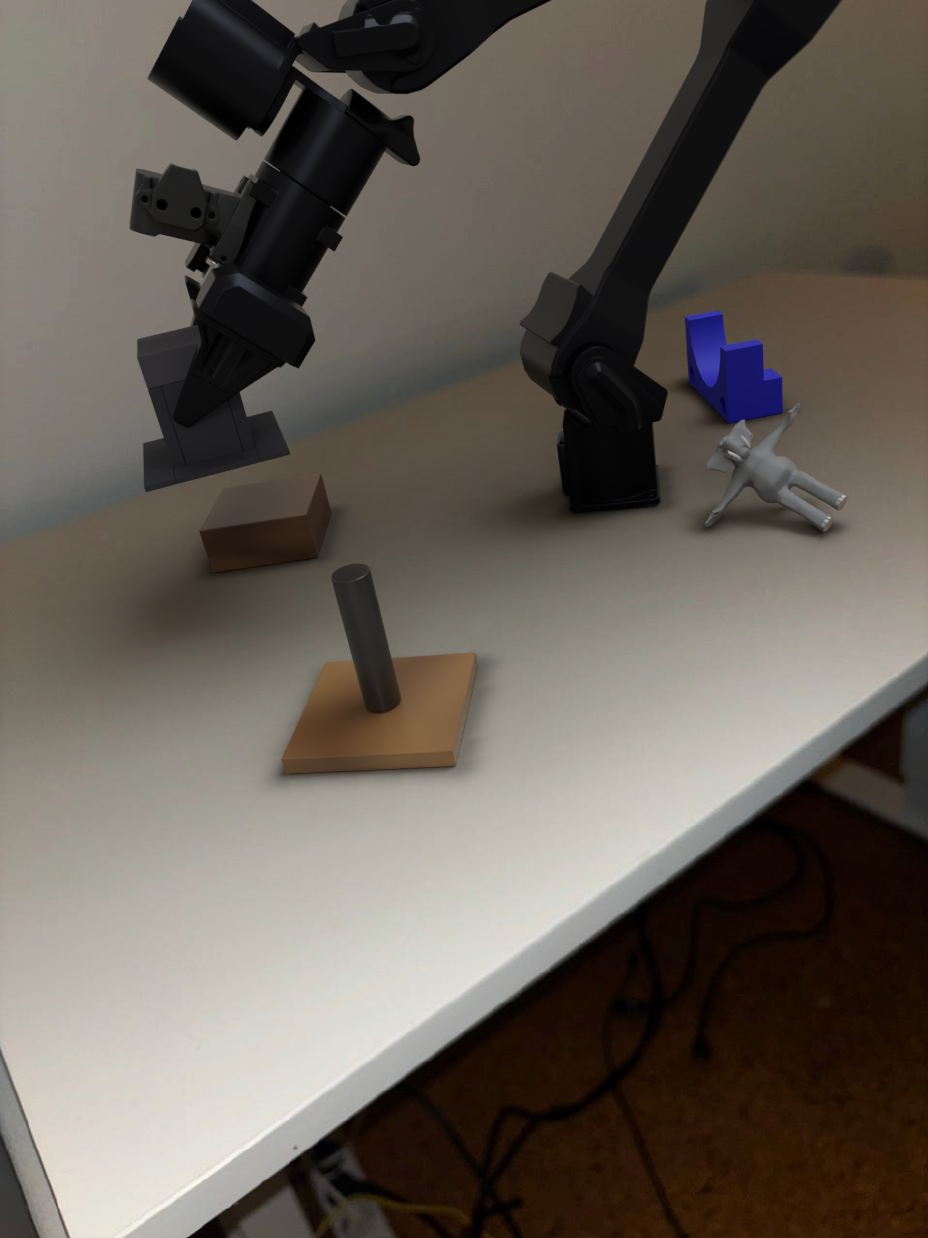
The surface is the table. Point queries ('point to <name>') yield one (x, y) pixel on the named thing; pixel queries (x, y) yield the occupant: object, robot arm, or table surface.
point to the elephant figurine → (769, 474)
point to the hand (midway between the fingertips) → (178, 411)
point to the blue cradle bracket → (730, 371)
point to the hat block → (266, 523)
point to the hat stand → (380, 697)
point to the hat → (210, 440)
